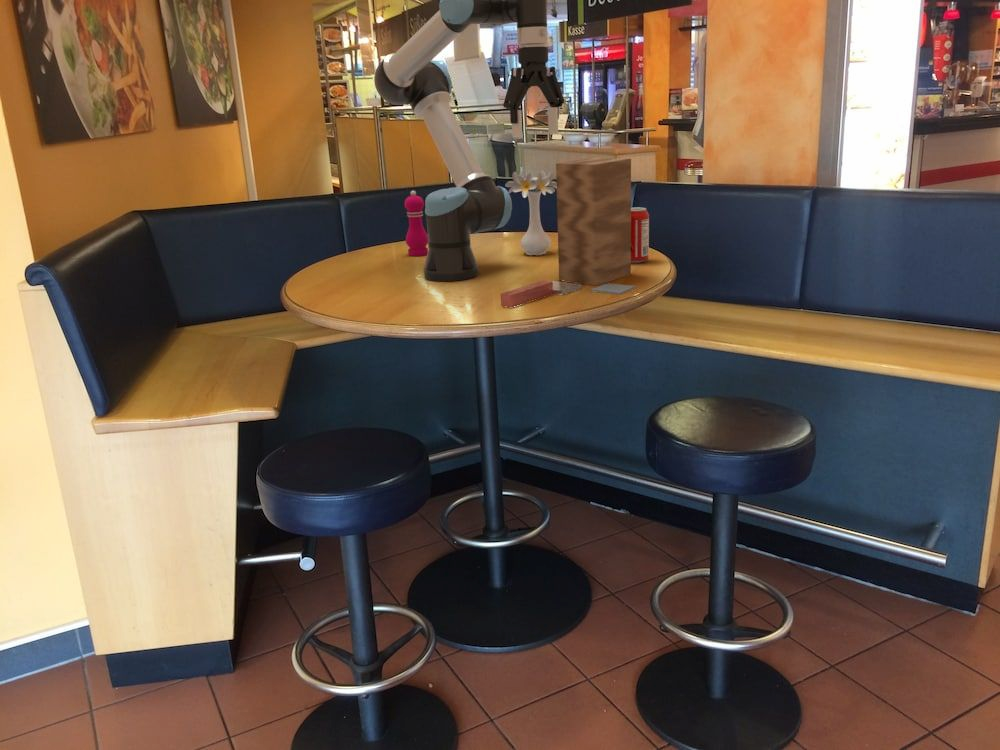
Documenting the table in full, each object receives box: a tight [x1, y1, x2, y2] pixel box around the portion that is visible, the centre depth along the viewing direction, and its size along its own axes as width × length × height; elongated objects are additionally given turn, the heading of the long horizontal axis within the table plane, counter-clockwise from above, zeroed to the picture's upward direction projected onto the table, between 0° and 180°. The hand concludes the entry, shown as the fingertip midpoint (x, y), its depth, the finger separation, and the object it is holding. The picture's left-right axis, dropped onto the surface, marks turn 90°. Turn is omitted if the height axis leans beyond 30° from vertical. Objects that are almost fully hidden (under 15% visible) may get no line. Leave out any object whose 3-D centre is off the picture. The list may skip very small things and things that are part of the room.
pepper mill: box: [404, 190, 429, 257], centre depth 261 cm, size 7×7×20 cm
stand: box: [555, 157, 632, 286], centre depth 216 cm, size 12×16×30 cm
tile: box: [590, 282, 636, 296], centre depth 206 cm, size 8×8×1 cm
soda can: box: [631, 206, 650, 264], centre depth 235 cm, size 8×8×15 cm
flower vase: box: [504, 170, 557, 256], centre depth 252 cm, size 13×18×25 cm
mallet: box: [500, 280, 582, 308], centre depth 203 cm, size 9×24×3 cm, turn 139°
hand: (535, 135), depth 213 cm, fingers open, 13 cm apart
